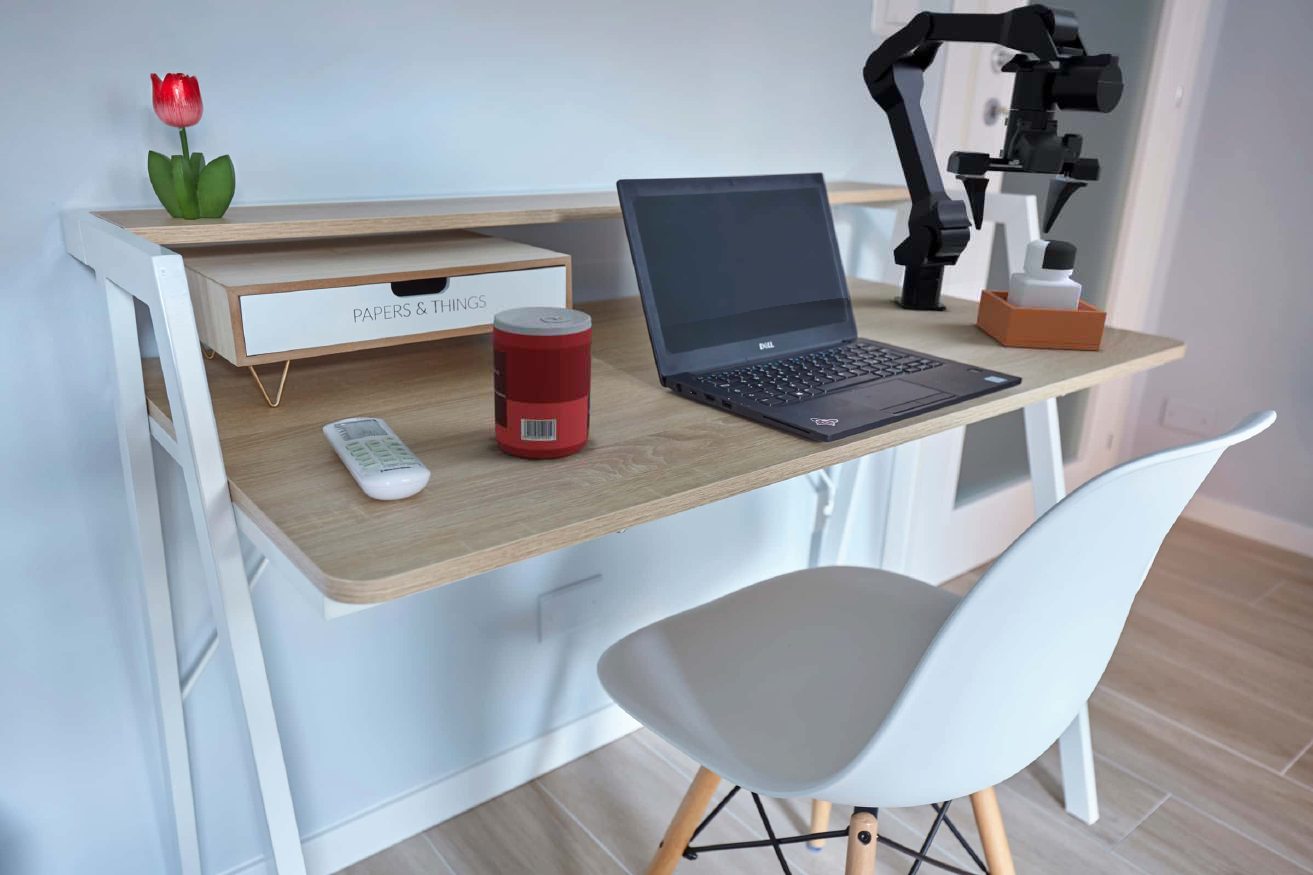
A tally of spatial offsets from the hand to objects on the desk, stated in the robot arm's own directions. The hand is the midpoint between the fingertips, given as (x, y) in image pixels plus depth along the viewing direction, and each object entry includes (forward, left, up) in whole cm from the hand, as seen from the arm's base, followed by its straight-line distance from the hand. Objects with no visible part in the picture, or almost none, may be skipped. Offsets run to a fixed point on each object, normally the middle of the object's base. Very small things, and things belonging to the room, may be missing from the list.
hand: (1011, 231), depth 127 cm
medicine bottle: (+7, +3, -12) cm, 14 cm away
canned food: (+56, -57, -13) cm, 81 cm away
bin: (+7, +3, -13) cm, 15 cm away
